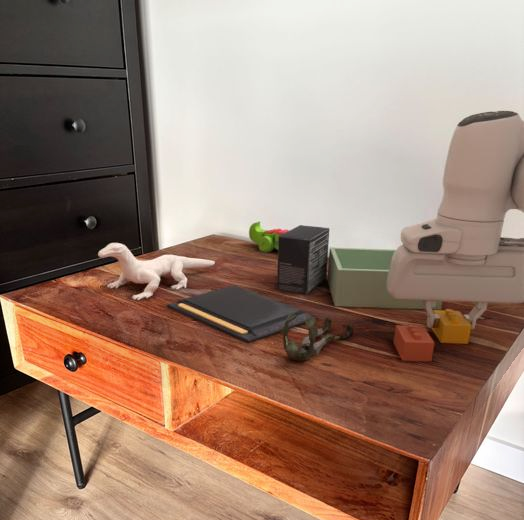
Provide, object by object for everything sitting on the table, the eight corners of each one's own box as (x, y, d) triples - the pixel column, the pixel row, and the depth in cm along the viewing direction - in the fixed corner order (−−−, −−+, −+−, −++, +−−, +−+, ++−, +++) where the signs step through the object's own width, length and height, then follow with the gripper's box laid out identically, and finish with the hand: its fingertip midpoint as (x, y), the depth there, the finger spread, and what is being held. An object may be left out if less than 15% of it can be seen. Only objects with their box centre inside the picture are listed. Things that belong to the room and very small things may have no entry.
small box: (296, 276, 111) (299, 223, 106) (327, 281, 108) (331, 227, 104) (274, 291, 102) (276, 234, 98) (307, 297, 100) (311, 239, 95)
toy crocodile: (329, 261, 122) (331, 233, 119) (310, 267, 117) (312, 238, 115) (264, 243, 134) (264, 218, 131) (244, 248, 129) (244, 222, 127)
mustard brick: (455, 329, 88) (459, 307, 86) (467, 345, 82) (472, 321, 81) (430, 329, 88) (433, 306, 86) (440, 344, 82) (444, 320, 81)
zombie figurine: (358, 296, 80) (304, 329, 69) (352, 339, 83) (300, 377, 72) (325, 288, 83) (268, 318, 72) (321, 329, 86) (266, 365, 75)
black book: (317, 310, 88) (245, 334, 79) (316, 322, 89) (245, 347, 79) (235, 280, 101) (165, 297, 92) (235, 290, 102) (165, 308, 93)
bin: (420, 284, 108) (425, 250, 105) (440, 311, 95) (447, 273, 92) (327, 281, 108) (329, 247, 105) (334, 308, 95) (338, 269, 92)
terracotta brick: (420, 345, 82) (424, 321, 80) (430, 364, 76) (435, 338, 75) (393, 345, 82) (396, 320, 80) (401, 363, 76) (405, 337, 75)
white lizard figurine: (232, 278, 108) (233, 231, 104) (119, 308, 92) (115, 253, 88) (197, 266, 115) (196, 221, 111) (87, 291, 99) (81, 240, 95)
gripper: (531, 233, 81) (510, 321, 87) (390, 229, 81) (379, 317, 87) (550, 244, 75) (527, 337, 81) (399, 239, 76) (387, 333, 81)
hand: (449, 327), depth 84 cm, fingers closed on mustard brick, 4 cm apart
